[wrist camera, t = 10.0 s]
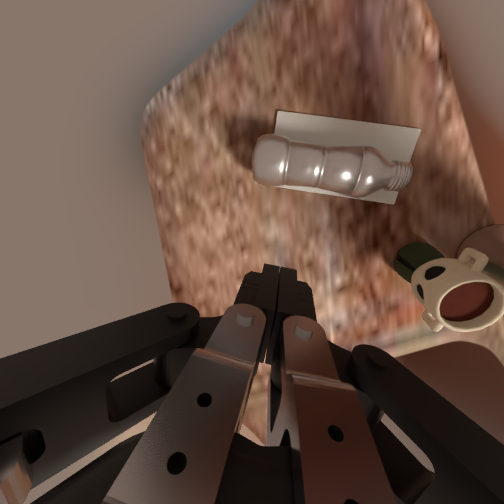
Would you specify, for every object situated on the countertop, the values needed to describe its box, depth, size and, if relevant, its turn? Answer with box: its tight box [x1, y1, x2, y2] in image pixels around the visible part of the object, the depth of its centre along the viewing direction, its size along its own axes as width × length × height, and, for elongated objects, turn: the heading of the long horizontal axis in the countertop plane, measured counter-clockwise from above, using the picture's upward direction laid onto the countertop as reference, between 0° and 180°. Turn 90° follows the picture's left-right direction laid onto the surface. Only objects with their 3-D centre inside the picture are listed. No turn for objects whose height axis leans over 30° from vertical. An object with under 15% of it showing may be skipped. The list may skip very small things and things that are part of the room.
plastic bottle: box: [251, 134, 413, 198], centre depth 32 cm, size 6×7×20 cm
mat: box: [274, 111, 421, 205], centre depth 34 cm, size 19×10×1 cm, turn 82°
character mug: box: [394, 243, 504, 332], centre depth 32 cm, size 11×7×13 cm, turn 167°
